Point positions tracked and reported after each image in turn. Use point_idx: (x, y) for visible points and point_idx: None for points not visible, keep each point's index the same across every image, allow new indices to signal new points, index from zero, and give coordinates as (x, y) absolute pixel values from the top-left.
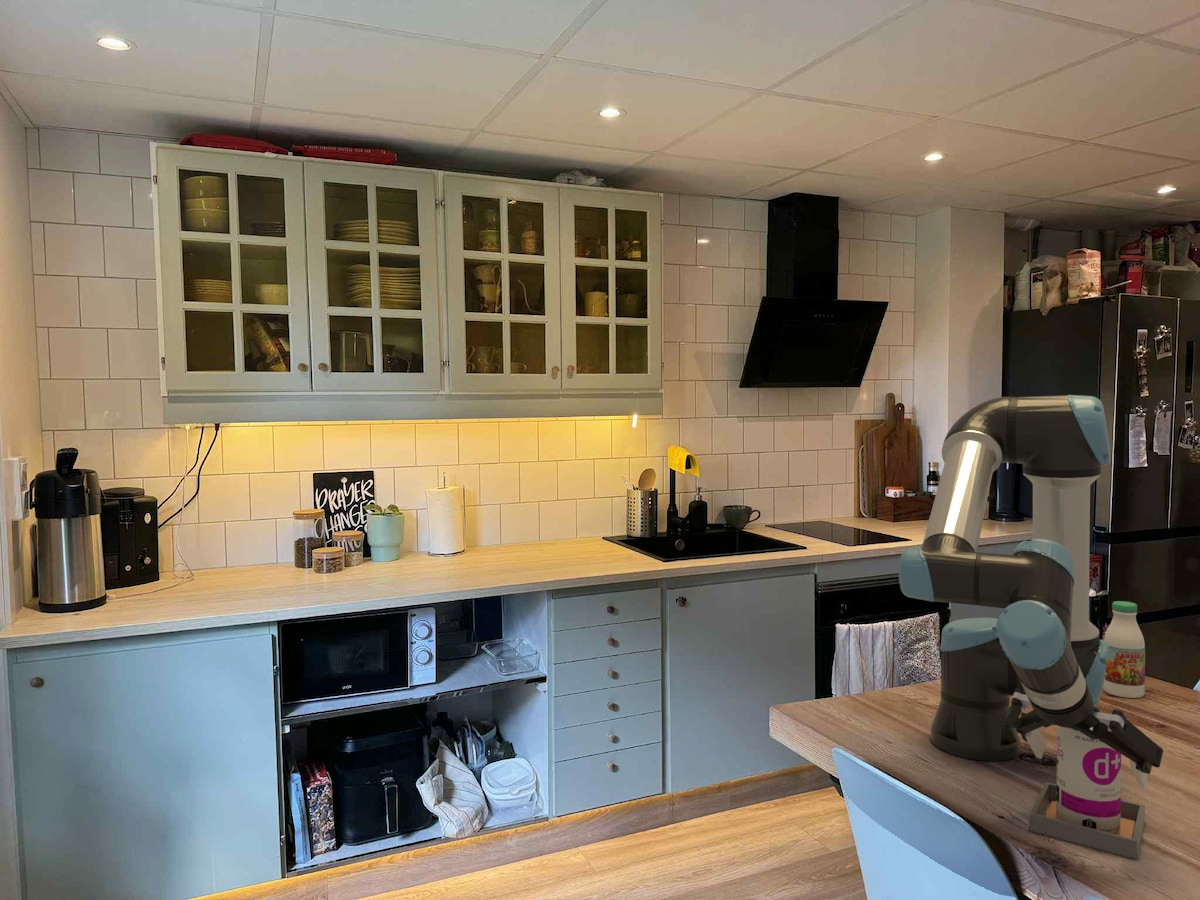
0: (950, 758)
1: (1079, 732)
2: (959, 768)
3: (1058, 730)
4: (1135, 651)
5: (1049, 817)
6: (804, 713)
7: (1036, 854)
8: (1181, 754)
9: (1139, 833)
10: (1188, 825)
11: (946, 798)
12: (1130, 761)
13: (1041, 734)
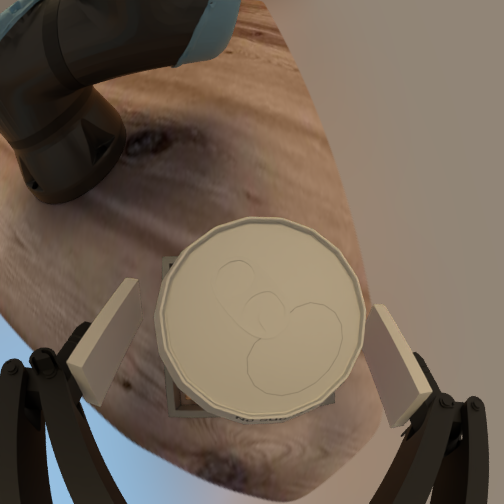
0: (46, 215)
1: (251, 418)
2: (55, 241)
3: (161, 356)
4: None
5: (198, 411)
6: None
7: (205, 473)
8: (290, 66)
9: None
10: (353, 232)
11: None
12: (394, 423)
13: (117, 310)
